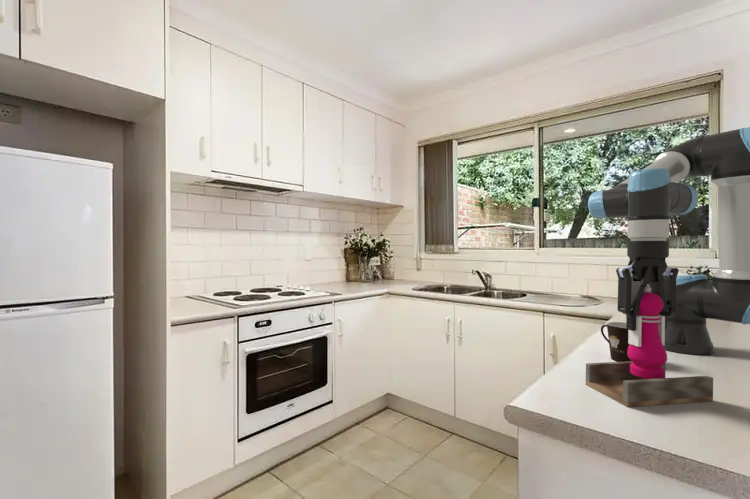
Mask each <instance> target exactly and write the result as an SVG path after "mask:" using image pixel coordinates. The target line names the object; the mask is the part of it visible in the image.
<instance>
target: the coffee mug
mask: <svg viewBox="0 0 750 499" xmlns="http://www.w3.org/2000/svg"><path fill="white" fill-rule="evenodd" d="M604 328H607V336H606V335H605V333H604ZM600 333H601V335H602V337H603V338H604V340H605V341H606V342H607V343H608V344H609V346H608V347H609V353H610V359H611V360H612V361H613V362H625V361H631V360H630V359H629V357H628V355H627V352H628V347H629V344H628V329H627V328H626V322H623V321H608V322H606V324H603V325H601V327H600Z"/></svg>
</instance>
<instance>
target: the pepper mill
mask: <svg viewBox="0 0 750 499" xmlns="http://www.w3.org/2000/svg"><path fill="white" fill-rule="evenodd" d="M663 306H664V305H663V301H662V299H661V298H660V297H659V296H658V295H656V294H654V293H651V287H650V286H649V285H647V286H646V287H645V289H644V293H643V297H642V299H641V302H640V309H639V313H638V316H640V317H642V329H641V347H638V346H635V345H632V344H629V347H628V352H627V355H628V357H629V359H630V360H631V361H632V362H633V363H632V364H630V373H631V374H633V375H635V376H638V377H641V378H646V379H659V378H664V369H663V368H662V367H661V366H662V365H664V364H665V363H667V361H668V353H667V350H665V348H664V346H663V344H662V342H661V340H660V338H659V335H658V322H660V321H661V320H660V317H661V316H660V315H658V314H659V313H660V312H661V311H662V309H663Z"/></svg>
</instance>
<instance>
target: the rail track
mask: <svg viewBox="0 0 750 499" xmlns="http://www.w3.org/2000/svg"><path fill="white" fill-rule="evenodd" d="M632 363H633V362H632V361H625V362H617V361H611V362H610V361H608V362H588V363H585V385H586V386H588V387H589V388H592V389H593V390H595V391H597V392H599V393H601V394H602V395H605V397H608V398H610V399H612V400H614V401H615V402H617V403H619V404H621V405H623V406H625V407H627V408H632V407H633V408H634V407H649V406H651V407H652V406H663V405H676V404H691V403H692V404H693V403H708V402H707V401H710V402H714V377H713V376H710V375H701V376H700V375H697V376H681V377H678V376H677V377H666V366H667V364H666V363H667V362H666V363H665V364H664V365H662V366H661V367H662V368H663V369H664V378H659V379H646V378H641V377H638V376H635V375H633V374H631V373H630V364H632Z"/></svg>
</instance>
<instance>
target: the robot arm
mask: <svg viewBox="0 0 750 499" xmlns="http://www.w3.org/2000/svg"><path fill="white" fill-rule="evenodd" d="M698 177H710V181H711V183H713V184H714V185H716V186H717V193H718V194H717V196H718V199H717V200H718V202H717V203H718V256H719V257H718V259H719V260H718V262H719V263H718V265H719V269H718V270H717V271H716V272H714V273H713V274H712V277H711V278H712V279H709V276H708V275H706V274H685V275H684V274H683V275H679V271H680V270H679V268H677V267H671V266H668V263H667V262H666V258H669V256H670V242H669V241H668V240H667V239H669V238H670V217H671V216H672V217H673V216H682V215H686V214H688V213H690V212H692V211H693V210H694V209H695V208H696V206H697V205H698V202H699V194H698V192H697V190H696V189H695V188H694V187H693V186H692V185H689V184H687V183H684V182H681V181H682V180H684V179H690V178H698ZM587 208H588V211H589V214H590V215H591V216H592V217H593V218H595V219H619V218H627V238H628V239H630V241H629V240H628V241H627V243H626V245H627V246H626V247H627V248H626V253H627V254H626V255H627V257H628V259H629V261H628V264H627V266H624V267H617V268H616V269H615V272H616V275H617V281H618V282H617V311H618V312H620V313H622V314H623V315H625V317H626V318H625V319H626V322H625V323H626V328H627V329H628V344H632V345H635V346H638V347H641V329H642V317H640V316H638V313H639V309H640V302H641V299H642V297H643V293H644V289H645V287H646V286H647V285H648V286H650V287H651V292H650V293H654V294H656V295H658V296H659V297H660V298H661V299H662V301H663V305H664V306H663V309H662V311H661V312H660V313H659V314H658V315H660V316H661V317H660V320H661V321H660V322H658V335H659V338H660V340H661V342H662V344H663V346H664V348H665V350H666V351H668V352H674V353H680V354H689V355H710V354H711V355H712V354H713V353H714V348H715V347H714V342H712V339H711V336H710V333H709V330H708V328H707V319H709V320H717V321H724V322H731V323H738V324H742V325H750V127H741V128H736V129H734V130H733V129H732V130H729V131H722V132H719V133H718V132H717V133H713V134H709V135H704V136H698V137H695V138H692V139H689V140H686V141H684V142H682V143H679V144H677V145H675V146H673V147H671V148H669V149H668V150H665V151H664V152H662V153H660V154H659V155H658V156H656V157H655V159H654V161H653V162H652V163H651V164H649V165H647V166H646V167H644V168H643V169H638V170H634V171H632V172H630V174H629V175H628V178H627V179H624V180H623V181H621V182H620V183H618V184H616V185H615V186H614V187H612V188H610V189H601V190H598V191H594V192H592V193H591V194H590V196H589V198H588V200H587Z"/></svg>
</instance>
